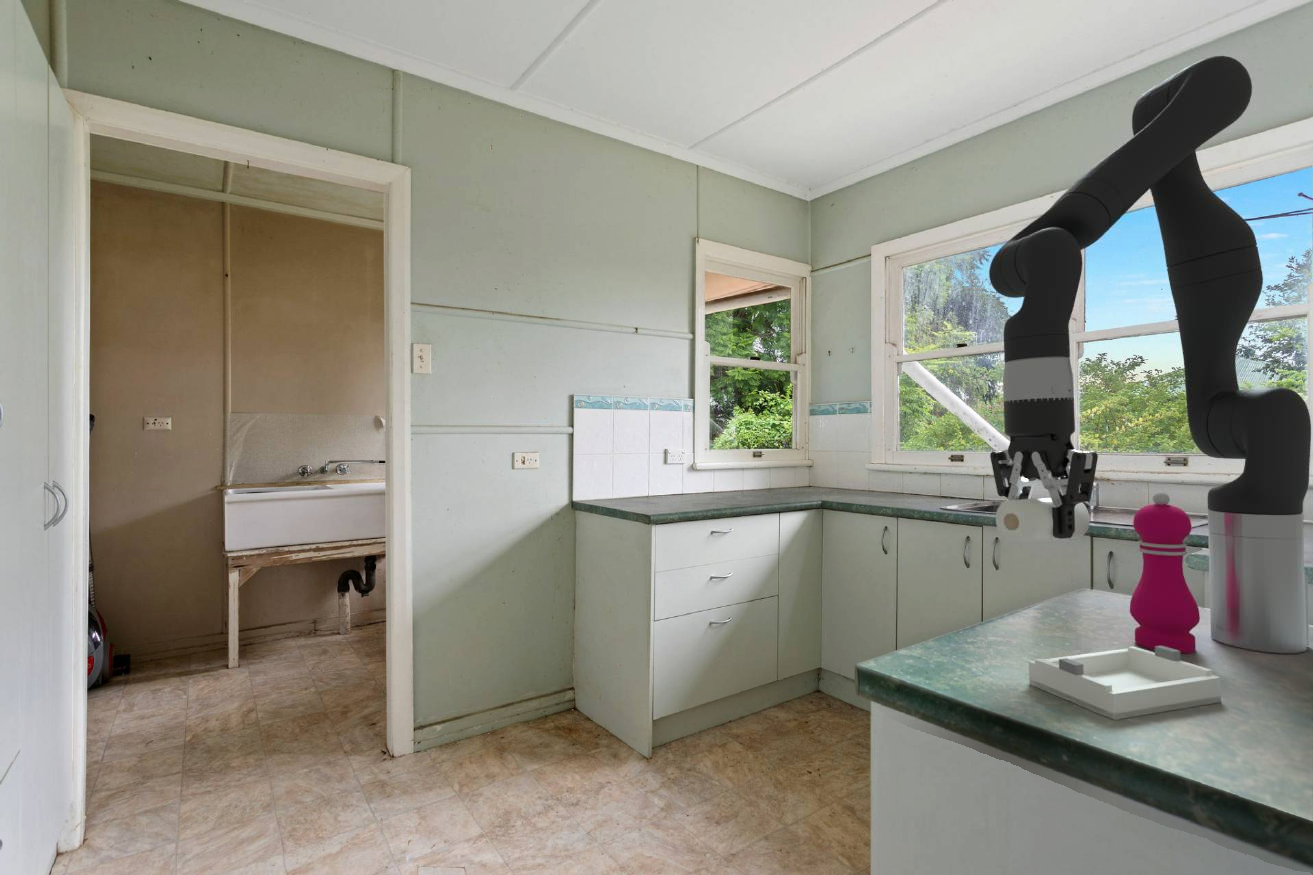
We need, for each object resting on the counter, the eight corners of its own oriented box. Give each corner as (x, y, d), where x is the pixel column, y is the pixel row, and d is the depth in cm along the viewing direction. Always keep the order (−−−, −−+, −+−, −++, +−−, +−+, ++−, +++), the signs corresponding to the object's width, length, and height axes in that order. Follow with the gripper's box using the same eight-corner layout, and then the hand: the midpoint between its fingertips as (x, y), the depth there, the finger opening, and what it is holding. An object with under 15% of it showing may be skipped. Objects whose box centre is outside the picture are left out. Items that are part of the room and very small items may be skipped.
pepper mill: (1214, 656, 81) (1210, 494, 81) (1148, 653, 83) (1144, 494, 83) (1180, 639, 88) (1176, 490, 88) (1119, 636, 90) (1116, 490, 90)
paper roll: (1056, 535, 85) (1053, 495, 85) (1092, 540, 80) (1090, 497, 80) (994, 541, 82) (992, 499, 82) (1028, 546, 77) (1026, 501, 77)
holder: (1127, 669, 77) (1126, 635, 77) (1221, 701, 67) (1220, 662, 67) (1028, 684, 73) (1027, 648, 73) (1113, 720, 63) (1112, 678, 63)
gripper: (1116, 392, 75) (1121, 540, 75) (1016, 400, 89) (1020, 526, 89) (1064, 392, 73) (1069, 545, 73) (970, 401, 87) (974, 530, 87)
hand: (1042, 534), depth 81 cm, fingers closed on paper roll, 5 cm apart
